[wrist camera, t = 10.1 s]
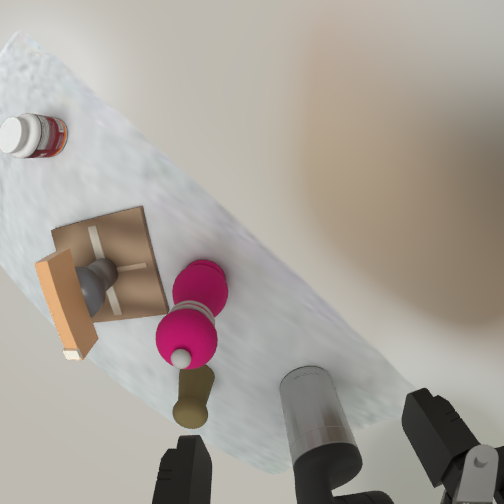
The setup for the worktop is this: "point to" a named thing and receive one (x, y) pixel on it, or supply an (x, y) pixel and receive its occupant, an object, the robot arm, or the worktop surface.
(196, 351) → the pepper mill
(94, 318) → the square stand base
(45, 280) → the tan long piece
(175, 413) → the cork
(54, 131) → the pill bottle
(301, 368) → the robot arm
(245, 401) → the worktop surface
